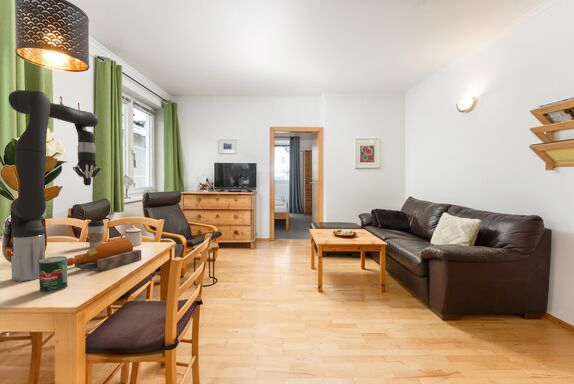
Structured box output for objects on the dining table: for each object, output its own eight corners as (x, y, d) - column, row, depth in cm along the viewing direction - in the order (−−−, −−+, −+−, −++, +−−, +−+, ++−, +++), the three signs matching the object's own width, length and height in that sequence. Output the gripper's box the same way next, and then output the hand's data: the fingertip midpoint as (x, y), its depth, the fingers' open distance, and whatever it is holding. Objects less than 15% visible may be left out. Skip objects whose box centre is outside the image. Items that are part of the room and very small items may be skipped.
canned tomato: (66, 283, 106) (65, 255, 106) (69, 288, 101) (68, 259, 100) (38, 288, 101) (37, 259, 100) (40, 295, 95) (39, 263, 95)
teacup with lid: (144, 243, 174) (144, 224, 174) (138, 246, 165) (138, 227, 165) (123, 243, 173) (123, 225, 172) (117, 246, 164) (116, 227, 163)
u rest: (101, 271, 119) (101, 260, 119) (74, 266, 126) (74, 255, 126) (141, 259, 138) (141, 250, 138) (116, 255, 145) (116, 246, 145)
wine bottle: (136, 255, 138) (68, 275, 111) (123, 258, 142) (55, 277, 114) (132, 236, 138) (64, 251, 111) (119, 239, 142) (51, 254, 115)
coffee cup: (85, 248, 158) (84, 223, 158) (91, 245, 166) (90, 221, 166) (101, 248, 160) (101, 222, 160) (106, 244, 168) (106, 220, 168)
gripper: (77, 150, 134) (78, 185, 135) (104, 152, 147) (104, 185, 147) (67, 150, 137) (68, 185, 138) (95, 153, 150) (95, 185, 150)
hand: (87, 185), depth 143 cm, fingers closed
